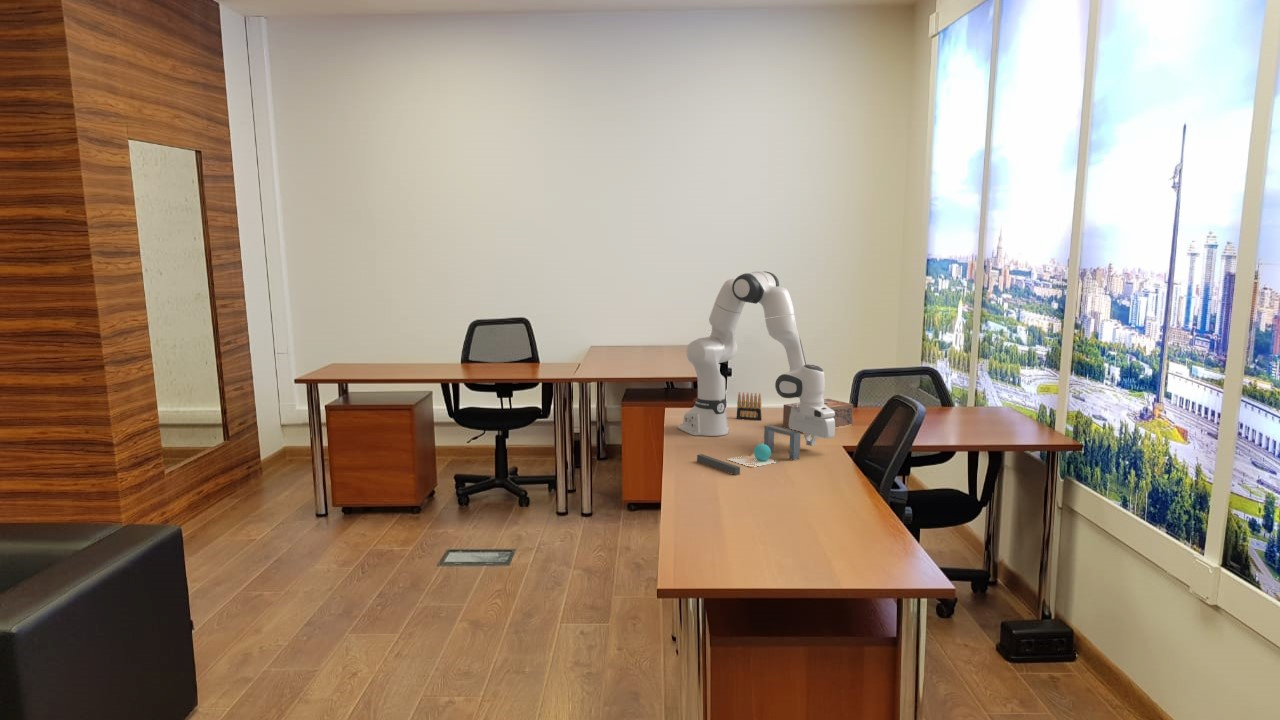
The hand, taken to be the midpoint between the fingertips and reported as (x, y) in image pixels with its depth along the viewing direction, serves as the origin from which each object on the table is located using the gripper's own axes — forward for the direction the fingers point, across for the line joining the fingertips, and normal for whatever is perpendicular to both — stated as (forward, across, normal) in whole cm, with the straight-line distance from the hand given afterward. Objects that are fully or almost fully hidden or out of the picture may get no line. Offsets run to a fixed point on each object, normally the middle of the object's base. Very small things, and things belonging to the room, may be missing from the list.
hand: (810, 445), depth 304 cm
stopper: (+2, 0, -45) cm, 45 cm away
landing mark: (+2, 0, -29) cm, 29 cm away
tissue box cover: (+2, -25, +31) cm, 40 cm away
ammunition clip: (+2, -52, +17) cm, 55 cm away
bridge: (+2, 0, -15) cm, 15 cm away
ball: (-1, +2, -26) cm, 26 cm away
